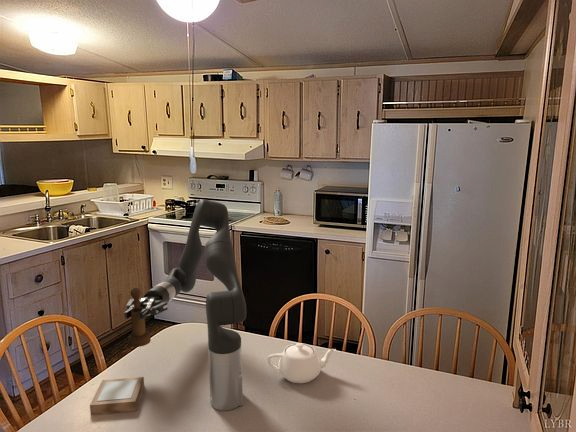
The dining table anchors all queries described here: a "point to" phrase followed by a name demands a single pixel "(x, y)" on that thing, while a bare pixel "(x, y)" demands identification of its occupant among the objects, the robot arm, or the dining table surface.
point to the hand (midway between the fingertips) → (132, 316)
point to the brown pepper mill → (138, 323)
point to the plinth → (117, 396)
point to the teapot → (300, 362)
